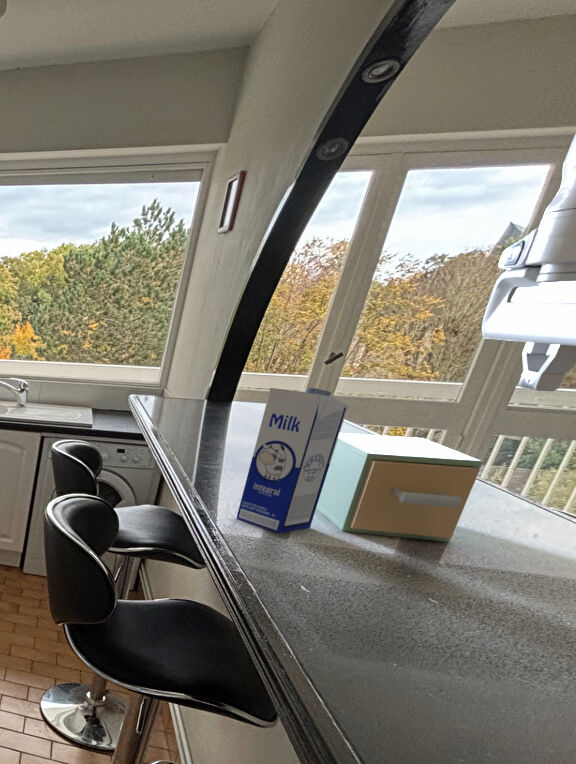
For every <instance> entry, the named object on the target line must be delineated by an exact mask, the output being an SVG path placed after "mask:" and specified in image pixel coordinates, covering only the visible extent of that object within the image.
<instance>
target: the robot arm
mask: <svg viewBox="0 0 576 764" xmlns="http://www.w3.org/2000/svg"><path fill="white" fill-rule="evenodd" d="M562 165H563V166H562V179H561V184H560V187H559V190H558V191H557V192H556V194H555V196H554V197H553V199H552V200H551V202H550V203H549V205H548V206H547V208H546V209H545V211H544V214H543V216H542V219H541V221H540V224H539V227H536V228H535V229H533V230H532V231H530V233H528V234H527V235H526V236H524V237H523V238H522V239H519V240H518V241H517V242H515V243H513V244H512V245H509V246H508V247H506V248H505V249H504V250H503V251H502V254H501V255H500V259H499V262H498V269H501V270H504V272H502V273H501V274H500V275H499V277H498V278H497V280H496V281H495V284H494V286H493V288H492V291H491V294H490V297H489V299H488V302H487V306H486V308H485V312H484V316H483V319H482V323H481V334H482V337H483V339H487V340H497V341H499V340H500V341H510V342H522V343H523V342H524V343H525V344H524V346H523V347H524V348H523V350H522V352H521V357H522V373H521V377H520V379H519V382H518V387H520V388H521V389H528V390H533V391H538V392H555V391H557V390H558V389H559V388H560V386H561V384H562V381H563V380H564V377H565V374H567V373H568V372H569V371H570V370H571V369H572V368H574V366H575V365H576V133H575V134H574V137H573V138H572V141H571V143H570V145H569V148H568V151H567V153H566V156H565V159H564V162H563V164H562Z"/></svg>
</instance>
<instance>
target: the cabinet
mask: <svg viewBox="0 0 576 764" xmlns="http://www.w3.org/2000/svg"><path fill="white" fill-rule="evenodd" d="M373 459H376V460H390V461H403V462H417V463H431V464H445V465H459V466H461V467H474V468H477V469H479V470H481V467H482V464H483V460H481V459H478V458H475V457H473V456H470V455H467V454H465V453H462V452H460V451H457V450H455V449H452V448H450V447H447V446H445V445H442V444H440V443H437V442H434V441H431V440H429V439H427V438H424V437H411V436H396V435H381V434H380V435H379V434H364V433H363V434H362V433H347V432H340V434H339V437H338V440H337V443H336V446H335V450H334V453H333V456H332V459H331V462H330V466H329V469H328V472H327V475H326V478H325V481H324V485H323V488H322V491H321V494H320V497H319V501H318V504H317V507H316V510H317V511H318V512H320V513H321V514H322V515H323V516H324V517H325V518H326V519H328V521H330V522H331V523H333V525H334V526H336V527H337V528H338V529H339V530H340V531H342V532H348V533H349V532H350V533H351V532H352V533H359V534H368V535H379V536H387V537H396V538H397V537H398V538H407V539H415V540H426V541H434V542H435V541H436V542H444V543H445V542H446V543H449V542H451V539H452V538H441V537H431V536H422V535H412V534H402V533H393V532H383V531H373V530H363V529H354V528H351V527H350V526H349V524H350V521H351V518H352V515H353V512H354V509H355V506H356V503H357V500H358V498H359V495H360V492H361V489H362V486H363V483H364V480H365V477H366V474H367V471H368V468H369V465H370V462H371V460H373Z"/></svg>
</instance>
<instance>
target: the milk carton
mask: <svg viewBox="0 0 576 764" xmlns="http://www.w3.org/2000/svg"><path fill="white" fill-rule="evenodd" d="M331 394H332V392H331V391H329V390H326V389H323V388H322V389H320V388H317V387H307V389H306V392H305V391H299V390H298V391H297V390H290V389H283V388H277V387H276V388H275V387H269V393H268V396H267V399H266V404H265V408H264V411H263V416H262V419H261V422H260V427H259V430H258V435H257V438H256V442H255V445H254V450H253V453H252V458H251V461H250V463H249V464H250V465H249V468H248V472H247V476H246V480H245V484H244V487H243V491H242V496H241V499H240V503H239V505H238V506H239V507H238V511H237V514H236V520H240V521H242V522H245V523H248V524H250V525H254V526H257V527H260V528H262V529H266V530H268V531H271V532H274V533H277V534H284V533H289V532H295V531H300V530H306V529H310V528H311V526H312V522H313V520H314V516H315V513H316V510H317V509H316V507H317V504H318V501H319V497H320V494H321V491H322V488H323V485H324V481H325V478H326V475H327V472H328V469H329V466H330V462H331V459H332V456H333V453H334V450H335V446H336V443H337V440H338V437H339V434H340V433H341V430H342V427H343V424H344V420H345V418H346V415H347V411H348V408H349V406H350V404H347V403H345V402H343V401H341V400H339V399H337V398H335V397H332V396H331Z"/></svg>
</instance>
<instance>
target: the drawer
mask: <svg viewBox="0 0 576 764" xmlns="http://www.w3.org/2000/svg"><path fill="white" fill-rule="evenodd" d="M479 472H480V469H477V468H474V467H461V466H459V465H445V464H431V463H417V462H412V463H405V462H392V461H390V460H376V459H373V460H371V462H370V465H369V468H368V471H367V474H366V477H365V480H364V483H363V486H362V489H361V492H360V495H359V498H358V500H357V503H356V506H355V509H354V512H353V515H352V518H351V521H350V524H349V526H350V527H351V528H354V529H363V530H373V531H383V532H393V533H402V534H412V535H422V536H431V537H441V538H451V539H452V538H453V535H454V532H455V530H456V528H457V526H458V523H459V521H460V518H461V517H462V514H463V511H464V508H465V506H466V504H467V501H468V499H469V497H470V494H471V492H472V489H473V487H474V484H475V482H476V480H477V476H478V475H479Z"/></svg>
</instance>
